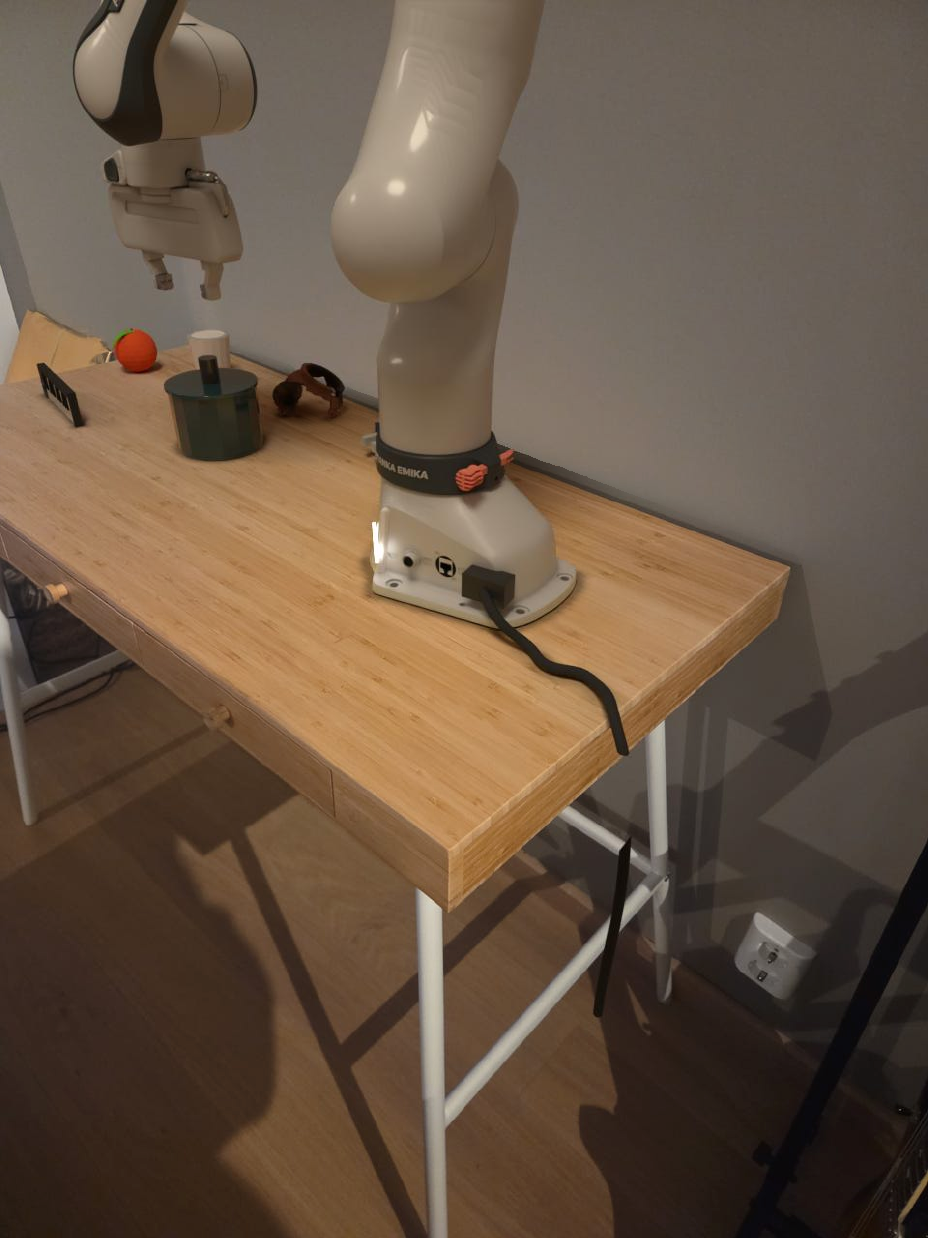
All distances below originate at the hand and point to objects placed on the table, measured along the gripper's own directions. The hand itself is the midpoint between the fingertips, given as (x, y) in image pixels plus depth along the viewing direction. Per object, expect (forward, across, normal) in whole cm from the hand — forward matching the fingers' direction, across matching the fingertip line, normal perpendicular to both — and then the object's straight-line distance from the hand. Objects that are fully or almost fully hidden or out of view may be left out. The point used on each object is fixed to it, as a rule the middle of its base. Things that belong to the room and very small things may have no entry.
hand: (187, 294), depth 102 cm
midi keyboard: (+20, +32, +4) cm, 38 cm away
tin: (+21, +2, -2) cm, 21 cm away
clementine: (+20, +40, -14) cm, 47 cm away
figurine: (+21, -20, -18) cm, 35 cm away
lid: (+12, +2, -2) cm, 13 cm away
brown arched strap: (+21, +2, -18) cm, 28 cm away
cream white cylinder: (+20, +28, -21) cm, 41 cm away
